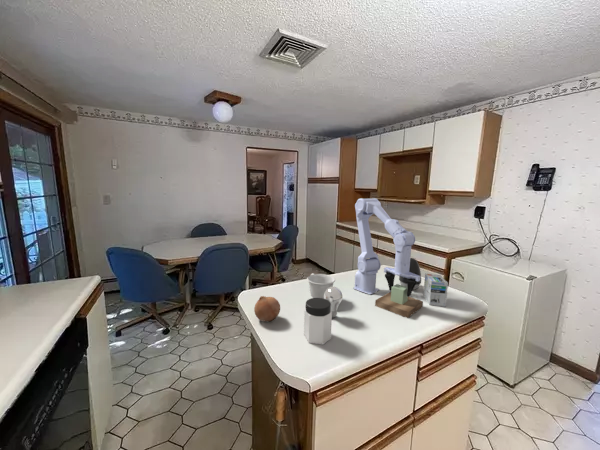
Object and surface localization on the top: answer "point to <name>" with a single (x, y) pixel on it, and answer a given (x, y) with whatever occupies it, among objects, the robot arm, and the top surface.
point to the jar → (317, 320)
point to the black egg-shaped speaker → (413, 269)
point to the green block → (399, 294)
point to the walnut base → (399, 305)
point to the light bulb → (333, 298)
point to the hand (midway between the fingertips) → (399, 292)
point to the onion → (267, 309)
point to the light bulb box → (435, 290)
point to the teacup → (319, 284)
